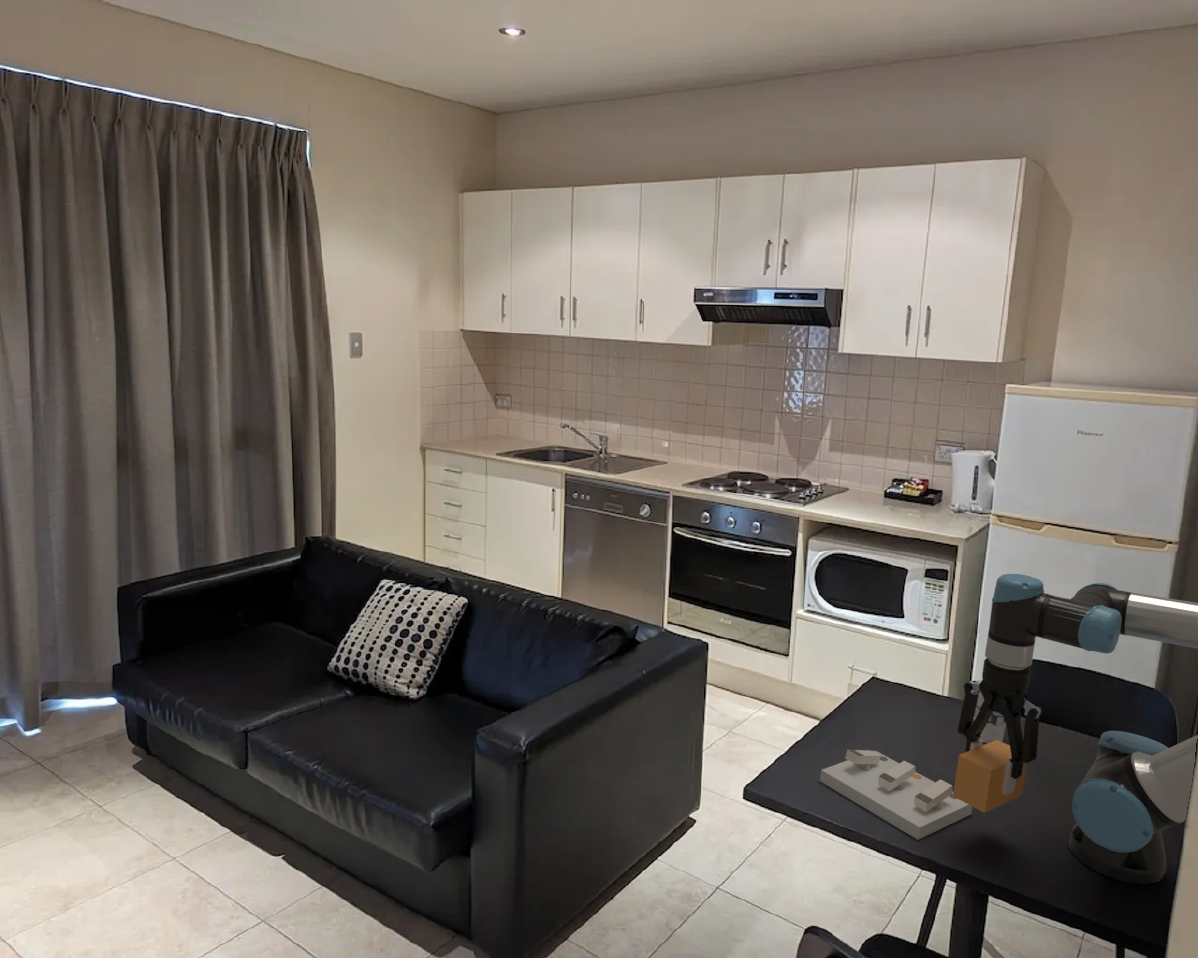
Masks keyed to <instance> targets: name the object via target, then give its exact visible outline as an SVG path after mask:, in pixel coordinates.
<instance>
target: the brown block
mask: <svg viewBox="0 0 1198 958" xmlns="http://www.w3.org/2000/svg"><path fill="white" fill-rule="evenodd" d="M1011 757H1012V756H1011V750H1010V744H1007V743H1005V742H1001V741H999V740H995V741H993V742H990V743H984V744H983V745H982V746H980V747H978V748H975V749H973V750H970V751H968V752H965V751H964V752H962V753H961V754H958V759H957V767H956V771H955V773H956V774H955V779H954V786H953V791H952V792H953V796H954V797H955V798H957V799H959V800H961V801H963V802H965V803H967V804H969V805H971V806H972V808H975V809H977V810H978V811H980V812H982V813H984V814H985V813H987V812H989V811H990V812H991V811H992V810H994V809H996V808H999V807H1000V806H1002V805H1004V804H1006V803H1008V802H1011V801H1012V800H1014V799H1017V798H1019V797H1022V796H1023V794H1024V793H1023V792H1024V787H1025V780H1026V774H1027V768H1028V763H1023V770H1022V775H1021V777H1019V778H1017V779H1016V783H1015V790H1014V792H1012V793H1010V794H1008V795H1004V794H1002V789H1003V783H1004V776H1005V770H1006V763H1007V759H1009V758H1011Z"/></svg>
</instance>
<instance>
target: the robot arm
mask: <svg viewBox="0 0 1198 958" xmlns="http://www.w3.org/2000/svg"><path fill="white" fill-rule="evenodd" d="M991 602H992V603H991V610H990V619H989V629H988V633H987V634H988V635H987V639H986V645H985V652H984V657H985V659H984V660H983V667H982V674H981V678H982V680H980V681H981V682H980V683H977V680H971V681H968V682H964V684H963V685H964V686H963V687H964V690H963V691H964V698H963V704H962V708H961V712H960V717H959V722H958V726H957V732H958V734H960V735H963V736H964V737H965V739H966V743H965V745H966V746H965V751H964V753H965V752H968V751H970V750H973V749H975V748H978V747H980V746H983V745H984V744H983V743H984V742H983V741H982V740H980V739H979V738H980V737H981V736H980V735H981V733H982V731H983V730H984V728H985V726H986V724H987V722H988V720H989V719H990V717H991V715H992V713H993V711H995V712H998V713H1000V714H1001V715H1003V717H1004V721H1005V722H1006V731H1007V737H1008V742H1009V744H1008V745H1010V750H1011V756H1012V757H1011V758H1009V759H1007V763H1006V770H1005V776H1004V783H1003V789H1002V794H1004V795H1008V794H1010V793H1012V792H1014V790H1015V783H1016V779H1017V778H1019V777H1021V775H1022V770H1023V763H1027V764H1028V763H1031V762H1033V761H1035V760H1036V759H1037V754H1038V738H1039V726H1040V718H1041V717H1042V715H1043V712H1044V707H1042V706H1040V705H1038V706H1036V705H1034V704H1033V703H1031V701H1029V697H1028V688H1029V685H1030V679H1031V671H1032V670H1031V667H1030V666H1032V664H1033V659H1034V658H1033V657H1034V650H1035V644H1036V638H1041V639H1044V640H1049V641H1051V642H1056V643H1060V644H1063V645H1067V646H1071V647H1074V648H1078V649H1082V650H1085V651H1087V652H1095V653H1101V654H1111V653H1112V652H1114V651H1115V649H1116V647H1117V644H1118V642H1119V638H1120V635H1123V636H1130V637H1134V638H1141V639H1146V640H1151V641H1155V642H1161V643H1166V644H1170V645H1171V644H1172V645H1177V646H1183V647H1186V648H1187V647H1188V648H1194V649H1197V650H1198V602H1194V601H1190V600H1189V601H1188V600H1182V599H1175V598H1169V597H1162V596H1157V595H1150V594H1142V593H1137V592H1136V593H1135V592H1129V591H1127V590H1126V591H1125V590H1120V589H1117V587H1115V586H1113V585H1111V584H1109V583H1104V582H1093V583H1091V584H1088V585H1087V584H1086V585H1085V586H1083V587H1082V588H1081V589H1079V590H1077V591H1076V593H1075V594H1074V596H1073V597H1071V598H1065V597H1061V596H1055V595H1051V594H1049V593H1045V589H1044V583H1043V581H1042V580H1041V579H1038V578H1035V577H1032V576H1030V575H1025V574H1021V573H1005V574H1001V576H999V577H998V578H997V579H996V582H995V587H994V593H993V597H992V598H991ZM980 691H981V694H982V696H983V698H984V702H983V703H982V705H981V707H980V711H979V713H978V715H977V717H976V719H975V721H974V722H973V718H974V714H975V709H976V705H977V700H978V695H979V693H980ZM1022 709H1024V716H1026V717H1025V719H1024V727H1023V728H1024V730H1022V724H1021V719H1022V714H1021V710H1022ZM972 723H973V724H972ZM1197 739H1198V734H1196V735H1194V736H1191V737H1190V738H1187V739H1185V740H1183V741H1181V742H1179V743H1176V744H1175V745H1173V746H1171V747H1168V746H1166V744H1163V743H1161V742H1159V741H1157V740H1154V739H1151V738H1149V737H1146V736H1143V735H1140V734H1135V733H1131V732H1127V731H1120V730H1108V731H1104V732H1103V733H1102V734H1101V735H1100V738H1099V742H1098V743H1097V745H1098V747H1097V753H1096V757H1095V760H1094V762H1093V764H1092V765H1091V766H1090V768H1089V770H1088V771H1087V773H1086V775H1085V776H1084V778H1083V780H1082V781H1081V782H1080V783H1079V784H1077V786H1076V788H1075V790H1074V793H1073V798H1072V803H1071V809H1072V815H1073V817H1074V820H1075V822H1076V823H1075V825H1074V826H1073V828H1072V829H1071V831H1070V834H1069V835H1070V836H1069V840H1068V848H1069V849H1070V851H1071V853H1072V854H1073V855H1074V856H1075V857H1076V858H1077V859H1078V861H1079V862H1081V864H1084V865H1085V866H1087V867H1088V868H1090V869H1091V870H1093V871H1095V872H1097V873H1099V874H1100V875H1101V874H1102V875H1103V876H1106V877H1109V878H1111V879H1114V880H1117V881H1121V882H1124V883H1129V884H1134V883H1137V884H1136V885H1149V884H1148V883H1152V882H1155V881H1157V880H1158V879H1160V878H1161V877H1163V875H1164V874H1166V869H1167V856H1166V851H1165V844H1164V839H1163V835H1162V834H1163V833H1162V832H1163V831H1164V830H1166V829H1169V828H1171V827H1174V826H1176V825H1178V824H1181V823H1184V822H1185V821H1186V819H1187V815H1186V813H1188V809H1187V807H1188V802H1189V796H1190V790H1191V785H1192V778H1193V770H1194V763H1195V752H1196V743H1197ZM1164 876H1165V875H1164ZM1139 883H1140V884H1139Z"/></svg>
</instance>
